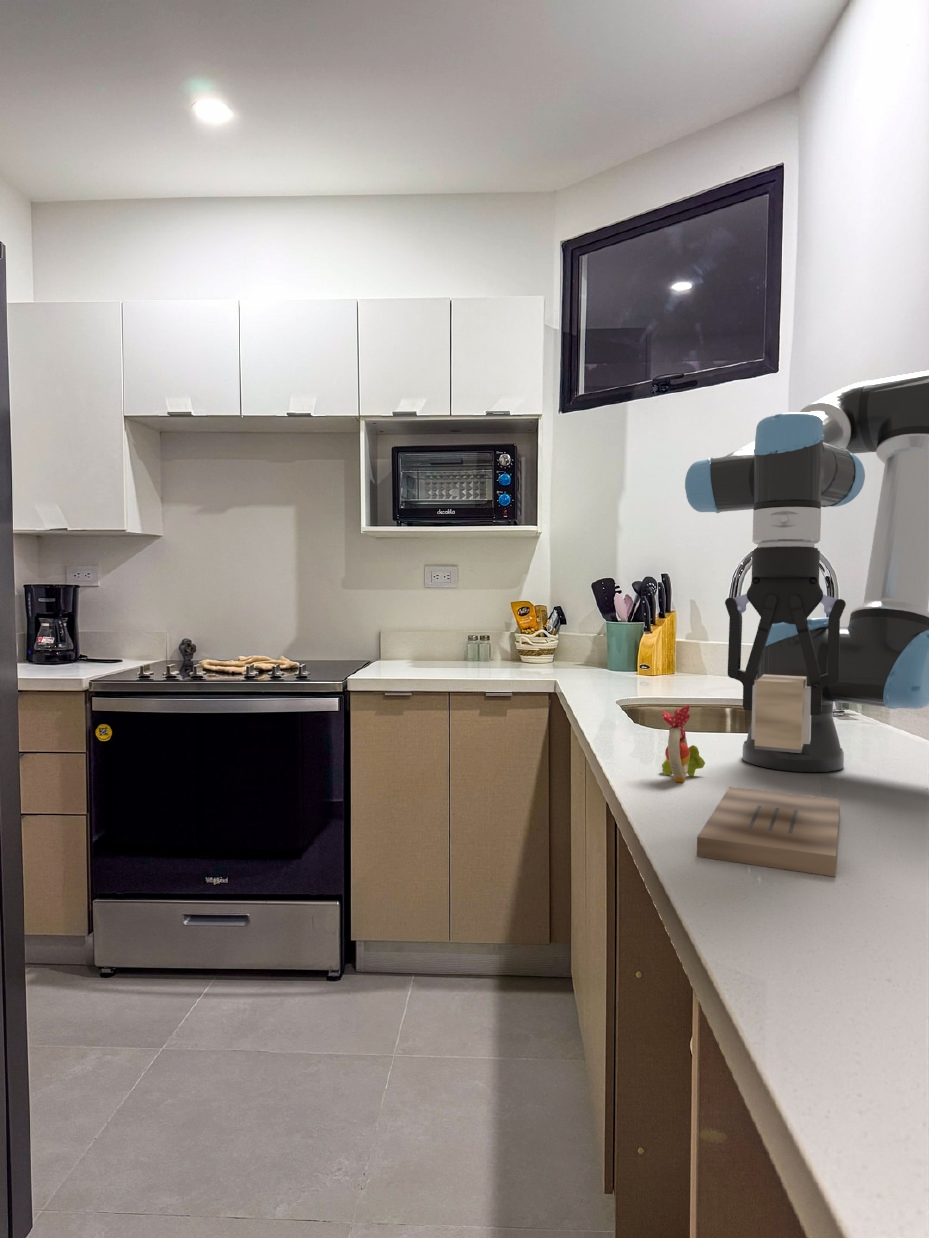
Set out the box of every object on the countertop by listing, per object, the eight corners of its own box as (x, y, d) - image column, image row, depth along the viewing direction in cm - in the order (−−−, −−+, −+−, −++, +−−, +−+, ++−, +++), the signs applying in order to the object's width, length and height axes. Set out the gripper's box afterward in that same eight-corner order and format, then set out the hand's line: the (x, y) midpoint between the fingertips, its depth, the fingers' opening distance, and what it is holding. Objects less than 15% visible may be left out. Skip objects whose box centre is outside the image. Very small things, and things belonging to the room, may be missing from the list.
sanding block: (762, 737, 101) (763, 674, 101) (805, 740, 99) (806, 676, 99) (754, 748, 93) (756, 680, 93) (800, 753, 91) (802, 683, 91)
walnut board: (729, 802, 104) (729, 786, 104) (839, 815, 98) (839, 798, 98) (696, 856, 82) (697, 836, 82) (835, 876, 77) (836, 855, 77)
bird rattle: (702, 798, 114) (706, 761, 122) (700, 732, 110) (704, 698, 117) (657, 794, 116) (664, 758, 124) (654, 730, 112) (661, 697, 120)
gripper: (702, 545, 96) (698, 737, 97) (870, 543, 88) (864, 752, 89) (712, 549, 103) (708, 729, 104) (869, 547, 95) (864, 741, 96)
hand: (780, 739), depth 96 cm, fingers closed on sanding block, 5 cm apart
